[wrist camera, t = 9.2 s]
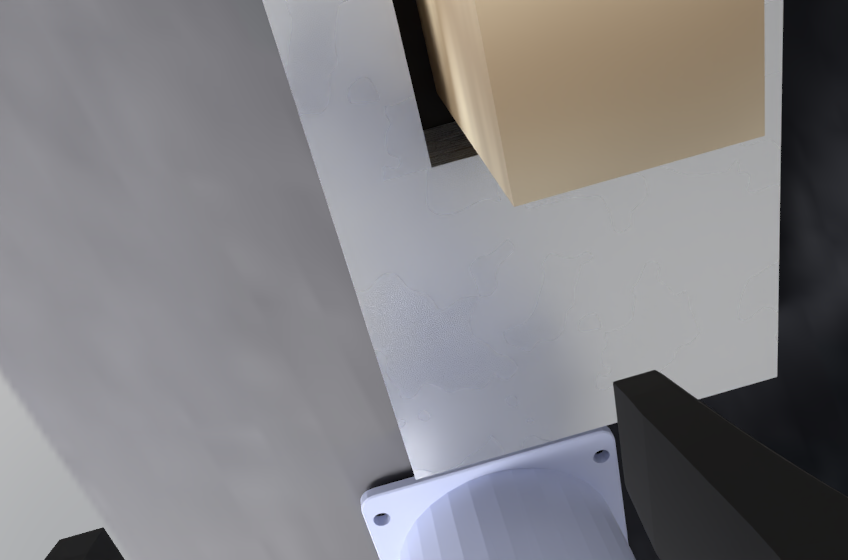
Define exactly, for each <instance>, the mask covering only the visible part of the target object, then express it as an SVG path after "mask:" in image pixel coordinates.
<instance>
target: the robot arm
mask: <svg viewBox="0 0 848 560" xmlns="http://www.w3.org/2000/svg"><path fill="white" fill-rule="evenodd" d="M613 388H614V396H615V405H616V413H617V422H618V430H619V439H620V447H621V456H622V464H623V472H624V481H625V487H626V489H627V491H628V493H629V495H630V498H631V500H632V502H633V504H634V507H635V509H636V511H637V513H638V515H639V518H640V520H641V522H642V524H643V526H644V529H645V531H646V533H647V535H648V537H649V539H650V541H651V543H652V546H653V548H654V550H655V552H656V554H657V555H658V557H659V559H660V560H848V497H847V496H846V495H844V494H842V493H840V492H839V491H837V490H835V489H834V488H832V487H830V486H828V485H827V484H825V483H823V482H822V481H820V480H819V479H817V478H815V477H814V476H812V475H810V474H809V473H807V472H805V471H804V470H802V469H801V468H799V467H798V466H796V465H794V464H793V463H791V462H790V461H788V460H787V459H785V458H784V457H782V456H780V455H779V454H777V453H776V452H774V451H773V450H771V449H770V448H768V447H766V446H765V445H763V444H762V443H760V442H759V441H757V440H756V439H754V438H753V437H751V436H750V435H748V434H747V433H745V432H744V431H742V430H741V429H739V428H738V427H736V426H735V425H734V424H732V423H731V422H729V421H728V420H726V419H725V418H723V417H722V416H721V415H719V414H718V413H716V412H715V411H713V410H712V409H711V408H709V407H708V406H706V405H705V404H704V403H702V402H701V401H699V400H698V399H697V398H695V397H694V396H692V395H691V394H690V393H688V392H687V391H685V390H684V389H683V388H681V387H680V386H679V385H677V384H676V383H674V382H673V381H672V380H670V379H669V378H668V377H666V376H665V375H663V374H662V373H660V372H658V371H657V370H652V371H649V372H645V373H642V374H638V375H635V376H631V377H628V378H624V379H621V380H617V381H614V382H613ZM600 450H603V451H602V452H601V453H599V454H595V453H596V452H598V451H600ZM360 501H361V510H362V514H363V516H364V519H365V522H366V524H367V527H368V530H369V532H370V535H371V537H372V540H373V543H374V545H375V548H376V550H377V553H378V556H379V558H380V560H636V559H635V557H634V555H633V553H632V551H631V549H630V547H629V544H628V536H627V529H626V521H625V513H624V505H623V498H622V490H621V482H620V474H619V467H618V459H617V451H616V443H615V438H614V436H613V434H612V432H611V430H610V428H608V427H607V426H603V427H600V428H596V429H593V430H589V431H586V432H582V433H579V434H575V435H572V436H568V437H565V438H561V439H558V440H554V441H551V442H547V443H544V444H540V445H537V446H533V447H530V448H526V449H523V450H519V451H516V452H512V453H509V454H505V455H502V456H498V457H495V458H491V459H488V460H484V461H481V462H477V463H474V464H470V465H467V466H463V467H459V468H456V469H452V470H449V471H445V472H442V473H438V474H435V475H431V476H428V477H424V478H421V479H417V480H416V479H415V476H414V477H410V478H407V479H403V480H400V481H396V482H393V483H389V484H386V485H382V486H379V487H375V488H372V489H370V490H367V491H366V492H365V493H364V494H363V495H362V497H361V499H360ZM380 513H386V514H385V515H383V516H376V515H378V514H380ZM45 560H125V559H124V558H123V557H122V555H121V553H120V552H119V550H118V549H117V547H116V546H115V544H114V543H113V541H112V540H111V538H110V537H109V535H108V534H107V532H106V531H105V529H104V528H100V529H96V530H93V531H89V532H86V533H82V534H79V535H75V536H72V537H68V538H65V539H61V540H59V541H58V543H57V544H56V545H55V547H54V548H53V549H52V550H51V552H50V553H49V554H48V556H47V557H46V558H45Z"/></svg>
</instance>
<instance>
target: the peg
mask: <svg viewBox="0 0 848 560" xmlns="http://www.w3.org/2000/svg"><path fill="white" fill-rule="evenodd" d="M416 4H417V9H418V13H419V17H420V22H421V26H422V30H423V35H424V39H425V44H426V48H427V52H428V57H429V61H430V65H431V70H432V74H433V79H434V83H435V87H436V92H437V94H438V96H439V97H440V99H441V100H442V102H443V103H444V104H445V106H446V107H447V109H448V110H449V112H450V113H451V115H452V116H453V118H454V119H455V121H456V122H457V124H458V125H459V127H460V128H461V130H462V131H463V132H464V134H465V135H466V137H467V138H468V140H469V141H470V143H471V144H472V146H473V147H474V149H475V150H476V152H477V153H478V155H479V156H480V158H481V159H482V161H483V162H484V163H485V165H486V166H487V168H488V169H489V171H490V172H491V174H492V175H493V177H494V178H495V180H496V181H497V183H498V184H499V186H500V187H501V189H502V190H503V191H504V193H505V194H506V196H507V197H508V199H509V200H510V202H511V203H512V205H513V206H514V207H516V206H519V205H523V204H526V203H530V202H533V201H537V200H540V199H544V198H548V197H551V196H555V195H558V194H562V193H565V192H569V191H572V190H576V189H579V188H583V187H586V186H590V185H593V184H597V183H600V182H604V181H607V180H611V179H614V178H618V177H622V176H625V175H629V174H632V173H636V172H639V171H643V170H646V169H650V168H653V167H657V166H660V165H664V164H667V163H671V162H674V161H678V160H681V159H685V158H688V157H692V156H696V155H699V154H703V153H706V152H710V151H713V150H717V149H720V148H724V147H727V146H731V145H734V144H738V143H741V142H745V141H748V140H752V139H755V138H759V137H762V136H765V23H764V0H416Z"/></svg>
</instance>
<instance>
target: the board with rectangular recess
mask: <svg viewBox="0 0 848 560" xmlns="http://www.w3.org/2000/svg"><path fill="white" fill-rule="evenodd" d="M262 1H263V4H264V7H265V10H266V13H267V16H268V19H269V22H270V26H271V29H272V32H273V35H274V38H275V41H276V44H277V47H278V51H279V54H280V57H281V60H282V63H283V66H284V69H285V72H286V76H287V79H288V82H289V85H290V88H291V91H292V94H293V97H294V101H295V104H296V107H297V110H298V113H299V116H300V119H301V122H302V126H303V129H304V132H305V135H306V138H307V141H308V144H309V147H310V151H311V154H312V157H313V160H314V163H315V166H316V169H317V172H318V176H319V179H320V182H321V185H322V188H323V191H324V194H325V197H326V201H327V204H328V207H329V210H330V213H331V216H332V219H333V222H334V226H335V229H336V232H337V235H338V238H339V241H340V244H341V247H342V251H343V254H344V257H345V260H346V263H347V266H348V269H349V273H350V276H351V279H352V282H353V285H354V288H355V291H356V294H357V298H358V301H359V304H360V307H361V310H362V313H363V316H364V319H365V323H366V326H367V329H368V332H369V335H370V338H371V341H372V344H373V348H374V351H375V354H376V357H377V360H378V363H379V366H380V369H381V373H382V376H383V379H384V382H385V385H386V388H387V391H388V394H389V398H390V401H391V404H392V407H393V410H394V413H395V416H396V419H397V423H398V426H399V429H400V432H401V435H402V438H403V441H404V444H405V448H406V451H407V454H408V457H409V460H410V463H411V466H412V469H413V473H414V476H415V479H416V480H417V479H421V478H424V477H428V476H431V475H435V474H438V473H442V472H445V471H449V470H452V469H456V468H459V467H463V466H467V465H470V464H474V463H477V462H481V461H484V460H488V459H491V458H495V457H498V456H502V455H505V454H509V453H512V452H516V451H519V450H523V449H526V448H530V447H533V446H537V445H540V444H544V443H547V442H551V441H554V440H558V439H561V438H565V437H568V436H572V435H575V434H579V433H582V432H586V431H589V430H593V429H596V428H600V427H603V426H607V425H610V424H614V423H617V413H616V405H615V396H614V388H613V382H614V381H617V380H621V379H624V378H628V377H631V376H635V375H638V374H642V373H645V372H649V371H652V370H657V371H658V372H660V373H662V374H663V375H665V376H666V377H668V378H669V379H670V380H672V381H673V382H674V383H676V384H677V385H679V386H680V387H681V388H683V389H684V390H685V391H687V392H688V393H690V394H691V395H692V396H694V397H695V398H697V399H701V398H705V397H708V396H712V395H715V394H719V393H722V392H726V391H729V390H733V389H736V388H740V387H743V386H747V385H750V384H754V383H757V382H761V381H764V380H768V379H771V378H775V377H777V357H778V295H779V234H780V173H781V111H782V50H783V0H764V23H765V136H762V137H759V138H755V139H752V140H748V141H745V142H741V143H738V144H734V145H731V146H727V147H724V148H720V149H717V150H713V151H710V152H706V153H703V154H699V155H696V156H692V157H688V158H685V159H681V160H678V161H674V162H671V163H667V164H664V165H660V166H657V167H653V168H650V169H646V170H643V171H639V172H636V173H632V174H629V175H625V176H622V177H618V178H614V179H611V180H607V181H604V182H600V183H597V184H593V185H590V186H586V187H583V188H579V189H576V190H572V191H569V192H565V193H562V194H558V195H555V196H551V197H548V198H544V199H540V200H537V201H533V202H530V203H526V204H523V205H519V206H516V207H514V206H513V205H512V203H511V202H510V200H509V199H508V197H507V196H506V194H505V193H504V191H503V190H502V189H501V187H500V186H499V184H498V183H497V181H496V180H495V178H494V177H493V175H492V174H491V172H490V171H489V169H488V168H487V166H486V165H485V163H484V162H483V161H482V159H481V158H480V156H479V155H478V153H477V152H476V150H475V149H474V147H473V146H472V144H471V143H470V141H469V140H468V138H467V137H466V135H465V134H464V132H463V131H462V130H461V128H460V127H459V125H458V124H457V122H456V121H455V122H452V123H448V124H444V125H441V126H437V127H433V128H430V129H426V130H423V129H422V125H421V120H420V116H419V112H418V108H417V103H416V99H415V95H414V91H413V86H412V82H411V78H410V74H409V69H408V65H407V61H406V57H405V53H404V48H403V44H402V40H401V36H400V31H399V27H398V23H397V19H396V14H395V10H394V6H393V2H392V0H262Z"/></svg>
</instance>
